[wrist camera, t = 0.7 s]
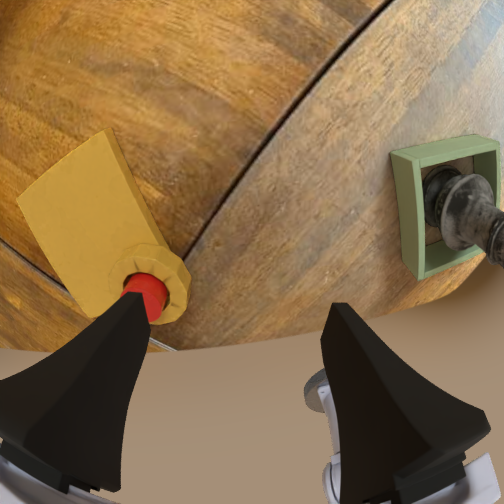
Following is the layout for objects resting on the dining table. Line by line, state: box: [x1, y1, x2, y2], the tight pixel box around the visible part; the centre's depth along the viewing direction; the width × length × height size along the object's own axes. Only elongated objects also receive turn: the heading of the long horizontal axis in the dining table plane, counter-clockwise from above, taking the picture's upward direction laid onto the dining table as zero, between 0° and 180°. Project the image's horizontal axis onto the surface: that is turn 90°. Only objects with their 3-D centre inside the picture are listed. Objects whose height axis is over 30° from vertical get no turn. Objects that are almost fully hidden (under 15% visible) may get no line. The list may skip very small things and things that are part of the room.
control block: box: [16, 128, 192, 325], centre depth 18 cm, size 14×12×3 cm
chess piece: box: [422, 165, 504, 268], centre depth 12 cm, size 6×6×12 cm
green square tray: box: [390, 134, 501, 281], centre depth 16 cm, size 9×9×3 cm
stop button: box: [120, 273, 168, 322], centre depth 17 cm, size 3×3×2 cm
